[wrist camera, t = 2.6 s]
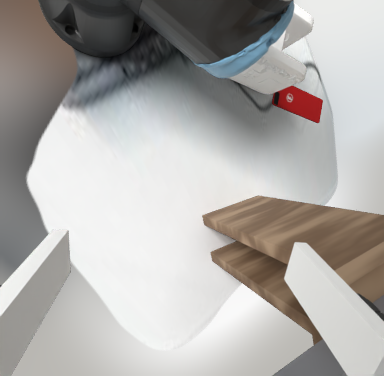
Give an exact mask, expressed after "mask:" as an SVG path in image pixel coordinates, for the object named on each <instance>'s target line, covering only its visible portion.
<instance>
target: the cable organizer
mask: <svg viewBox="0 0 384 376" xmlns="http://www.w3.org/2000/svg"><path fill="white" fill-rule="evenodd" d="M294 6H295V7H294V13H293V17H292V19H291V21H290V23H289V25H288V27H287V28H286V30H285V31H284V33H283V34H282V36H281V37H280V38H279V39H278V41H277V42H275V43H274V44H272V45H271V46H270V47H269V49H268V52H267V53H266V54H265V55H264V56H263V57H262V58H260V59H259V60H258V61H257V62H256V63H255V64H253V65H252V66H251V67H249V68H248V69H246V70H245V71H243V72H241V73H240V74H238V75H235V76H233V77H230V78H229V79H231V80H234V81H236V82H238V83H240V84H242V85H244V86H247V87H249V88H251V89H253V90H255V91H257V92H260V93H263V94H273V93H275V92H277V91H280V90H282V89H285V88H287V87H290V86H292V85H294V84H297V83H299V82H302V81H303V80H304V79H305V75H306V70H307V68H306V66H305V65H304V64H302V63H301V62H299V61H297V60H296V59H294V58H292V57H290V56H289V55H287V54H285V53H284V52H282V50H283V49H285V48H287V47H288V46H290V45H291V44H293V43H295V42H296V41H298V40H300V39H301V38H303V37H304V36H306V35H308V34H309V33H310V32H311V31H312V27H313V23H314V20H313V17H312V16H311V15H310V14H309V13H307V12H306V11H304V10H303V9H301V8H300V7H299V6H297V5H296V4H295V3H294Z"/></svg>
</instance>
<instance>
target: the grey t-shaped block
mask: <svg viewBox="0 0 384 376" xmlns="http://www.w3.org/2000/svg"><path fill="white" fill-rule="evenodd" d="M373 304H374V305H375V306H376V307H377V308H378V309H379V310H380V311H381V313H383V314H384V295H383V296H381V297H380V298H379V299H377V300H376V301H374V302H373ZM273 376H347V375H346V373H345V371H344V370H343V368H342V367H341V365H340V364H339V362H338V361H337V359H336V358H335V356H334V355H333V353H332V352H331V350H330V349H329V347H328V346H327V344H326V342H325V341H324V339H322V340H321V341H319V342H318V343H317V344H315V345H314V346H313V347H311V348H310V349H308V350H307V351H306V352H304V353H303V354H301V355H300V356H299V357H297V358H296V359H295V360H293V361H292V362H290V363H289V364H288V365H286V366H285V367H284V368H282V369H281V370H279V371H278V372H277V373H275V374H274V375H273Z"/></svg>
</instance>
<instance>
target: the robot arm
mask: <svg viewBox="0 0 384 376" xmlns="http://www.w3.org/2000/svg"><path fill="white" fill-rule="evenodd" d="M38 1H39V4H40V7H41V10H42V12H43V15H44V17H45V18H46V20H47V22H48V23H49V25H50V26H51V28H52V29H53V30H54V31H55V33H56V34H57V35H58V36H59V37H60V38H61V39H62V40H64V41H65V42H66V43H68V44H69V45H70V46H72V47H73V48H75V49H77V50H79V51H81V52H83V53H86V54H89V55H93V56H98V57H111V56H116V55H119V54H122V53H124V52H126V51H127V50H129V49H130V48H131V47H132V46H133V45H134V44H135V43H136V41H137V40H138V38H139V36H140V33H141V31H142V28H143V25H144V21H145V22H146V23H147V24H149V25H150V26H151V27H152V28H153V29H155V30H156V31H157V32H158V33H159V34H161V35H162V36H163V37H164V38H165V39H167V40H168V41H169V42H170V43H171V44H173V45H174V46H175V47H176V48H177V49H179V50H180V51H181V52H182V53H183V54H185V55H186V56H187V57H188V58H190V59H191V60H192V62H193V63H194V64H195V65H197V66H199V67H202V68H203V69H205V70H206V71H207V72H209V73H210V74H211V75H213V76H215V77H217V78H230V77H233V76H235V75H238V74H240V73H241V72H243V71H245V70H246V69H248V68H249V67H251V66H252V65H253V64H255V63H256V62H257V61H258V60H259V59H260V58H262V57H263V56H264V55H265V54H266V53H267V52H268V49H269V47H270V46H271V45H272V44H274V43H275V42H277V41H278V39H279V38H280V37H281V36H282V34H283V33H284V31H285V30H286V28H287V27H288V25H289V23H290V21H291V19H292V17H293V13H294V7H295V6H294V2H293V0H38ZM70 272H71V267H70V250H69V233H68V230H56V229H53V230H52V231H51V232H50V234H49V235H48V236H47V237H46V238H45V239H44V240H43V241H42V242H41V243H40V245H39V246H38V247H37V248H36V249H35V250H34V251H33V252H32V253H31V254H30V256H29V257H28V258H27V259H26V260H25V261H24V262H23V263H22V264H21V266H20V267H19V268H18V269H17V270H16V271H15V272H14V273H13V274H12V275H11V277H10V278H9V279H8V280H7V281H6V282H5V283H4V284H3V285H0V376H11V375H12V373H13V371H14V370H15V368H16V366H17V365H18V363H19V361H20V359H21V358H22V356H23V354H24V352H25V351H26V349H27V347H28V345H29V344H30V342H31V340H32V339H33V336H34V335H35V333H36V332H37V329H38V328H39V326H40V325H41V323H42V321H43V319H44V318H45V316H46V314H47V313H48V311H49V309H50V307H51V306H52V304H53V302H54V300H55V299H56V297H57V295H58V293H59V292H60V290H61V288H62V287H63V285H64V283H65V281H66V279H67V278H68V276H69V274H70ZM284 280H285V281H286V283H287V284H288V286H289V288H290V289H291V291H292V292H293V294H294V295H295V297H296V298H297V300H298V301H299V303H300V304H301V306H302V307H303V309H304V310H305V312H306V313H307V315H308V317H309V318H310V320H311V321H312V323H313V324H314V326H315V327H316V329H317V330H318V332H319V333H320V335H321V336H322V338H323V339H324V341H325V342H326V344H327V346H328V347H329V349H330V350H331V352H332V353H333V355H334V356H335V358H336V359H337V361H338V362H339V364H340V365H341V367H342V368H343V370H344V371H345V373H346V375H347V376H384V314H383V313H381V311H380V310H379V309H378V308H377V307H376V306H375V305H374V304H373V303H372V302H371V301H369V300H368V299H366V298H365V297H364V296H362V295H361V294H359V293H355V292H354V291H353V290H352V289H351V288H350V287H349V286H348V285H347V284H346V283H345V281H344V280H343V279H342V278H341V277H340V276H339V275H338V274H337V273H336V272H335V271H334V270H333V269H332V268H331V267H330V266H329V265H328V264H327V263H326V262H325V261H324V260H323V259H322V258H321V257H320V256H319V255H318V254H317V253H316V252H315V251H314V250H313V249H312V248H311V247H310V246H309V245H308V244H307V243H300V242H295V243H294V246H293V250H292V253H291V257H290V260H289V263H288V267H287V270H286V274H285V277H284Z"/></svg>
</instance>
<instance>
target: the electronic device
mask: <svg viewBox="0 0 384 376" xmlns="http://www.w3.org/2000/svg"><path fill="white" fill-rule="evenodd" d="M322 103H323V100H322V99H320V98H317V97H315V96H313V95H311V94H309V93H307V92H305V91H303V90H301V89H298V88H296V87H294V86H290V87H287V88H285V89H282V90H280V91H277V92H275V93H274V95H273V101H272V104H273V105H275V106H277V107H280V108H282V109H284V110H287V111H289V112H292V113H294V114H297V115H299V116H302V117H304V118H306V119H309V120H311V121H314V122H316V123H319V121H320V115H321V109H322Z"/></svg>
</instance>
